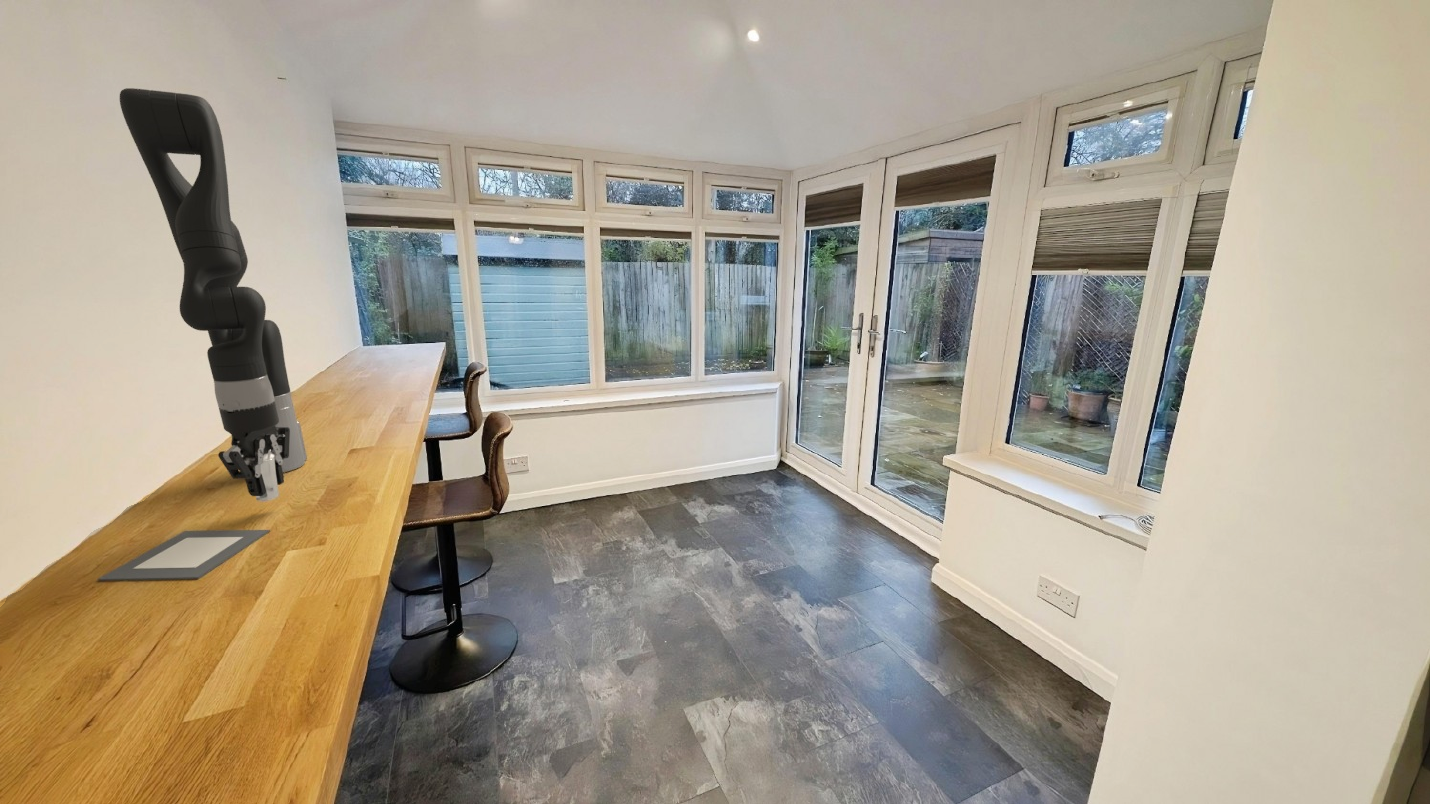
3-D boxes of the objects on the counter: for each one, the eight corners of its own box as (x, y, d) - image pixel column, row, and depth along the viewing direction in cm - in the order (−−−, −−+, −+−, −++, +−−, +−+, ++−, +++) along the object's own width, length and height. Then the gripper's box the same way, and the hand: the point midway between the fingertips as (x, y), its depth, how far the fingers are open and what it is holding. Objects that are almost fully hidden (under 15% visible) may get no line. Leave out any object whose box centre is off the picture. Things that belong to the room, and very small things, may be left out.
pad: (185, 532, 90) (184, 530, 90) (270, 531, 91) (269, 529, 91) (97, 580, 76) (97, 578, 76) (198, 579, 77) (198, 576, 77)
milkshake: (269, 505, 94) (256, 454, 91) (245, 501, 95) (232, 451, 92) (293, 494, 99) (282, 445, 96) (270, 490, 100) (258, 442, 97)
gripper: (255, 390, 98) (274, 473, 103) (188, 414, 84) (213, 508, 89) (297, 391, 99) (314, 473, 104) (237, 414, 85) (260, 507, 90)
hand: (267, 489), depth 96 cm, fingers closed on milkshake, 4 cm apart
